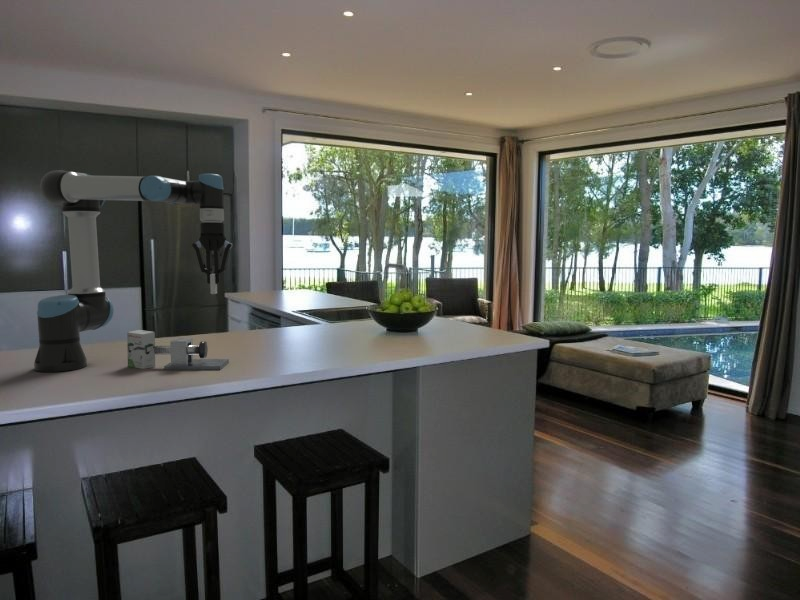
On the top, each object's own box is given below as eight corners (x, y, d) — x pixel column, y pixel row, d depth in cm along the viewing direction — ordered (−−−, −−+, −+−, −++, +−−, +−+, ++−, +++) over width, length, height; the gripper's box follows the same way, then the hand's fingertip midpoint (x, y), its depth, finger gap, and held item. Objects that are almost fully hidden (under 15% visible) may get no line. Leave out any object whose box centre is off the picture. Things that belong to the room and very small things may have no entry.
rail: (164, 370, 195) (163, 342, 194) (175, 362, 207) (175, 336, 206) (220, 369, 196) (219, 342, 195) (228, 362, 208) (228, 336, 207)
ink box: (126, 366, 201) (125, 331, 199) (140, 363, 205) (138, 329, 204) (143, 369, 196) (142, 333, 195) (156, 366, 200) (155, 331, 199)
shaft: (153, 360, 198) (152, 343, 197) (159, 356, 203) (158, 340, 203) (203, 359, 199) (202, 342, 198) (207, 356, 204) (207, 340, 204)
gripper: (188, 221, 193) (190, 294, 195) (229, 221, 194) (231, 294, 196) (195, 222, 201) (197, 292, 203) (234, 222, 201) (236, 292, 204)
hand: (213, 293), depth 199 cm, fingers closed
